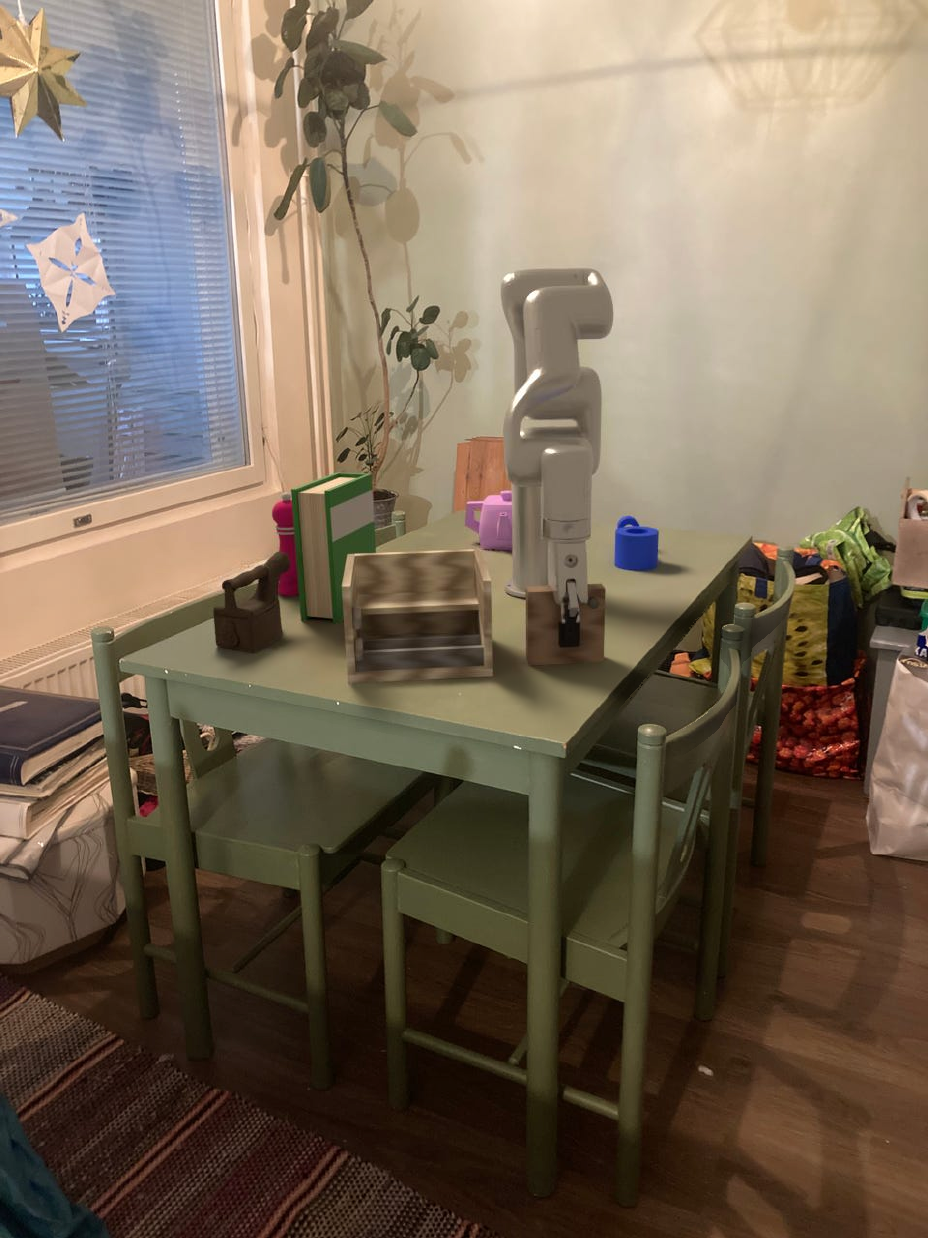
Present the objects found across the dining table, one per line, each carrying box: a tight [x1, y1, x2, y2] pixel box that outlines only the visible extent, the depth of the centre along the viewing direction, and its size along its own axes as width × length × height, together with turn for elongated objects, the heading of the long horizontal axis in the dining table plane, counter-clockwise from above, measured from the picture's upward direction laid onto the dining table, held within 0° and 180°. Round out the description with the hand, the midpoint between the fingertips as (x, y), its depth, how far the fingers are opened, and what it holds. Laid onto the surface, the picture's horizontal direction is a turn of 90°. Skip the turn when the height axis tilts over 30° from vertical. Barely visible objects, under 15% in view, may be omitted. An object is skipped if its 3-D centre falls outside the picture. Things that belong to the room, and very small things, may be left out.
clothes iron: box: [212, 550, 290, 653], centre depth 167 cm, size 8×16×13 cm, turn 154°
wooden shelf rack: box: [342, 548, 494, 684], centre depth 155 cm, size 22×19×15 cm
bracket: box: [613, 515, 660, 572], centre depth 213 cm, size 20×9×8 cm, turn 178°
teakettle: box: [464, 490, 512, 551], centre depth 228 cm, size 17×17×12 cm
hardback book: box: [290, 471, 377, 625], centre depth 181 cm, size 18×7×24 cm, turn 161°
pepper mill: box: [271, 491, 299, 597], centre depth 192 cm, size 7×7×20 cm
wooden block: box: [525, 583, 606, 666], centre depth 153 cm, size 12×4×12 cm, turn 94°
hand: (564, 637), depth 154 cm, fingers open, 7 cm apart
